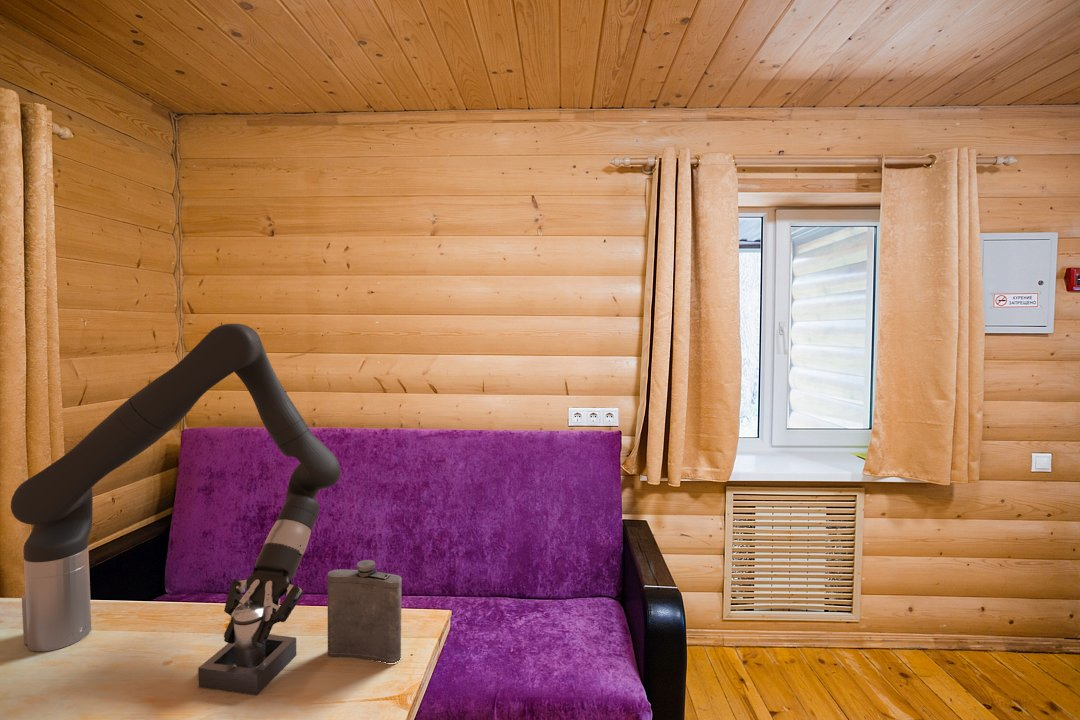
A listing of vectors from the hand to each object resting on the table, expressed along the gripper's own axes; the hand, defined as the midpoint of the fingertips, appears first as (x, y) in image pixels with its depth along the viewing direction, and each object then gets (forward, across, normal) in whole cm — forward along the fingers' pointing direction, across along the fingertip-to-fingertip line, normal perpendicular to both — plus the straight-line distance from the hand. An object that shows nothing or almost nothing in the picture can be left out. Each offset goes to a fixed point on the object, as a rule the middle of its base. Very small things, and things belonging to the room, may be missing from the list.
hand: (242, 643), depth 94 cm
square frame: (+3, 0, +6) cm, 6 cm away
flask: (-2, +18, +11) cm, 21 cm away
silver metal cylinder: (+2, 0, +4) cm, 5 cm away
